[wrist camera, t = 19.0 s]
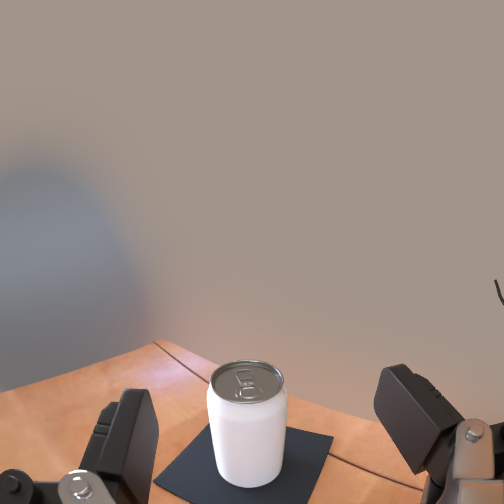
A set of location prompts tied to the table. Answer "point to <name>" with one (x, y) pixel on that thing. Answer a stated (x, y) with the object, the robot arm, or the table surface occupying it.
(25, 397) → the table surface
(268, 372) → the can
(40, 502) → the robot arm
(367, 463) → the table surface
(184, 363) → the table surface
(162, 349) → the table surface
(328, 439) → the desk mat
